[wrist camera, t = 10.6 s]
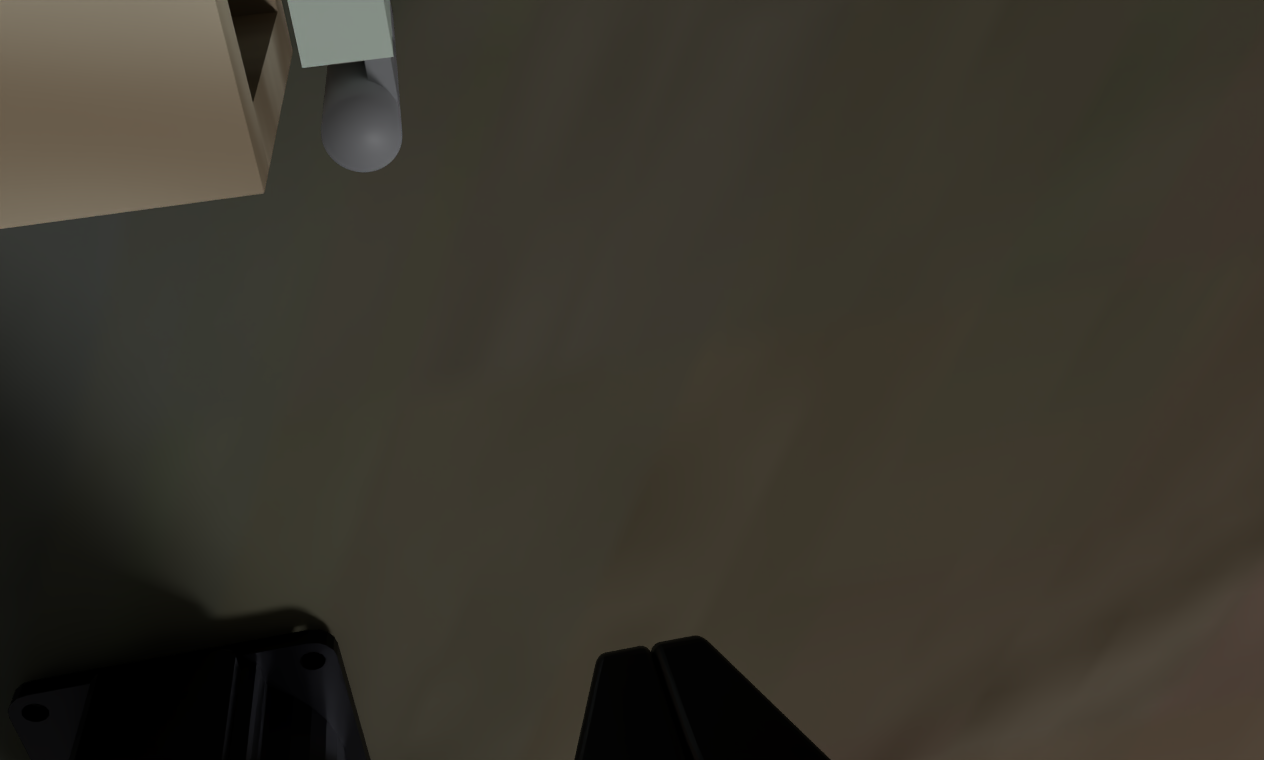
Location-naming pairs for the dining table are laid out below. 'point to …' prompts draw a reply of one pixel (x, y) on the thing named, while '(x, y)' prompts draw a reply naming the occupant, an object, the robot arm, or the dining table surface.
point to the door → (353, 77)
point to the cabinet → (136, 103)
